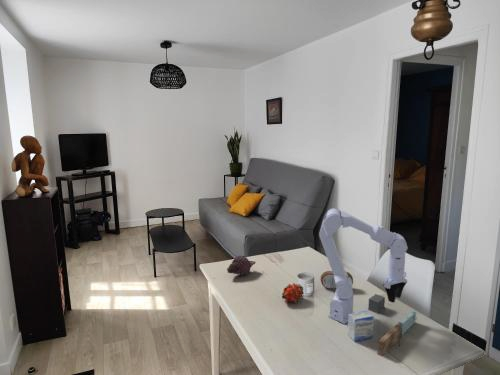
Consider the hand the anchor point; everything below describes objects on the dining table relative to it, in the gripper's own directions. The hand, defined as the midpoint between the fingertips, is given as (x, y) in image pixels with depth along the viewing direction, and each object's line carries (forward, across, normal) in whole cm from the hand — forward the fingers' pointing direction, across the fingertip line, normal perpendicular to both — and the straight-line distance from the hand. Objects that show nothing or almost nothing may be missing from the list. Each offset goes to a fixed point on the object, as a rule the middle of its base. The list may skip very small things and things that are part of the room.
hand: (394, 299), depth 134 cm
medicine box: (+10, -18, +4) cm, 21 cm away
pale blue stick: (+9, -1, -7) cm, 11 cm away
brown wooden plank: (+9, -15, -6) cm, 19 cm away
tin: (+10, +8, +31) cm, 33 cm away
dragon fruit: (+10, -16, +38) cm, 42 cm away
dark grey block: (+10, +4, +9) cm, 14 cm away
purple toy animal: (+10, -14, +75) cm, 77 cm away
